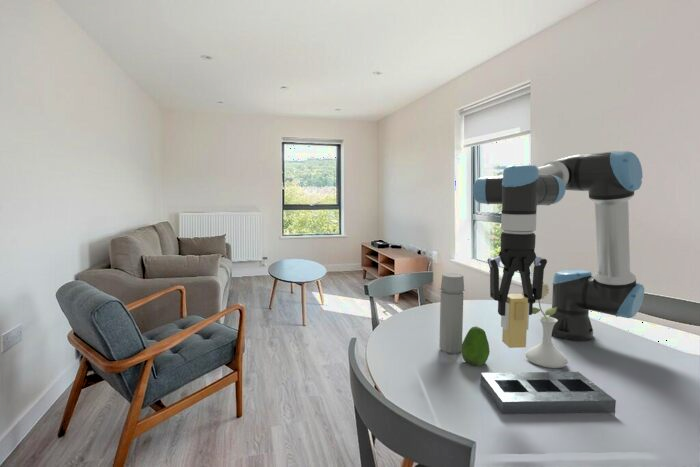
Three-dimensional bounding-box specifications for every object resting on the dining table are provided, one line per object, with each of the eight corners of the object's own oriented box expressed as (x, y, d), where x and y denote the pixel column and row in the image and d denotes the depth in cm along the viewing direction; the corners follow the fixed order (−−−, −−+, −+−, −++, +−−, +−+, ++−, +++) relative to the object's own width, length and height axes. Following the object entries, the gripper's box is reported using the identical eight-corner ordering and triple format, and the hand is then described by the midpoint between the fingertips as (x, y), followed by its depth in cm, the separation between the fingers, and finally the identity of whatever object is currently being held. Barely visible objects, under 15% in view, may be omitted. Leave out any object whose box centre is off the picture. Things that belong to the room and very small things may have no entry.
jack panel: (577, 386, 102) (578, 371, 101) (614, 416, 88) (615, 400, 87) (480, 387, 101) (480, 372, 101) (502, 418, 87) (502, 401, 87)
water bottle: (464, 355, 121) (466, 278, 118) (438, 353, 122) (440, 277, 120) (461, 344, 130) (463, 272, 127) (437, 342, 131) (439, 271, 129)
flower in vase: (563, 358, 119) (568, 279, 116) (571, 374, 108) (576, 288, 105) (517, 352, 123) (521, 276, 120) (521, 368, 112) (524, 284, 110)
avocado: (485, 373, 109) (486, 333, 107) (457, 367, 113) (459, 327, 112) (491, 363, 115) (492, 324, 114) (465, 357, 120) (466, 320, 118)
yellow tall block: (518, 340, 95) (520, 293, 94) (527, 348, 90) (529, 299, 89) (502, 341, 95) (503, 294, 93) (510, 348, 90) (512, 299, 89)
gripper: (545, 229, 94) (541, 321, 96) (476, 230, 93) (474, 323, 96) (563, 233, 86) (558, 333, 89) (487, 234, 86) (485, 334, 89)
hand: (514, 327), depth 92 cm, fingers closed on yellow tall block, 4 cm apart
